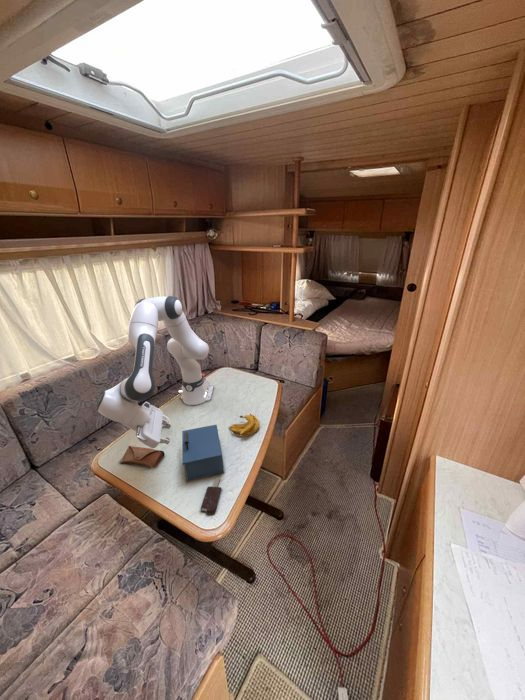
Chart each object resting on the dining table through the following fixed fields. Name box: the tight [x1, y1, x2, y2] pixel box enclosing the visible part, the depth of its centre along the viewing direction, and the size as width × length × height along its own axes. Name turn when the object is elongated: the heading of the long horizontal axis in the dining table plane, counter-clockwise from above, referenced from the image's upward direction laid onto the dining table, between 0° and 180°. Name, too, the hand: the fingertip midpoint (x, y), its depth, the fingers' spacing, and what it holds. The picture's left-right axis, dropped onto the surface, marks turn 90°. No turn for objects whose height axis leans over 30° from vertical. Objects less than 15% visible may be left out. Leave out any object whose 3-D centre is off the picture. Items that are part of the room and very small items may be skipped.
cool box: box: [184, 455, 225, 482], centre depth 120 cm, size 15×20×9 cm
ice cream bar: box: [200, 476, 222, 515], centre depth 104 cm, size 5×2×15 cm
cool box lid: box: [181, 424, 223, 466], centre depth 117 cm, size 16×20×5 cm
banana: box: [229, 413, 261, 437], centre depth 139 cm, size 15×19×6 cm
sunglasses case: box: [119, 445, 165, 469], centre depth 122 cm, size 18×7×7 cm, turn 79°
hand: (169, 434), depth 112 cm, fingers open, 8 cm apart
